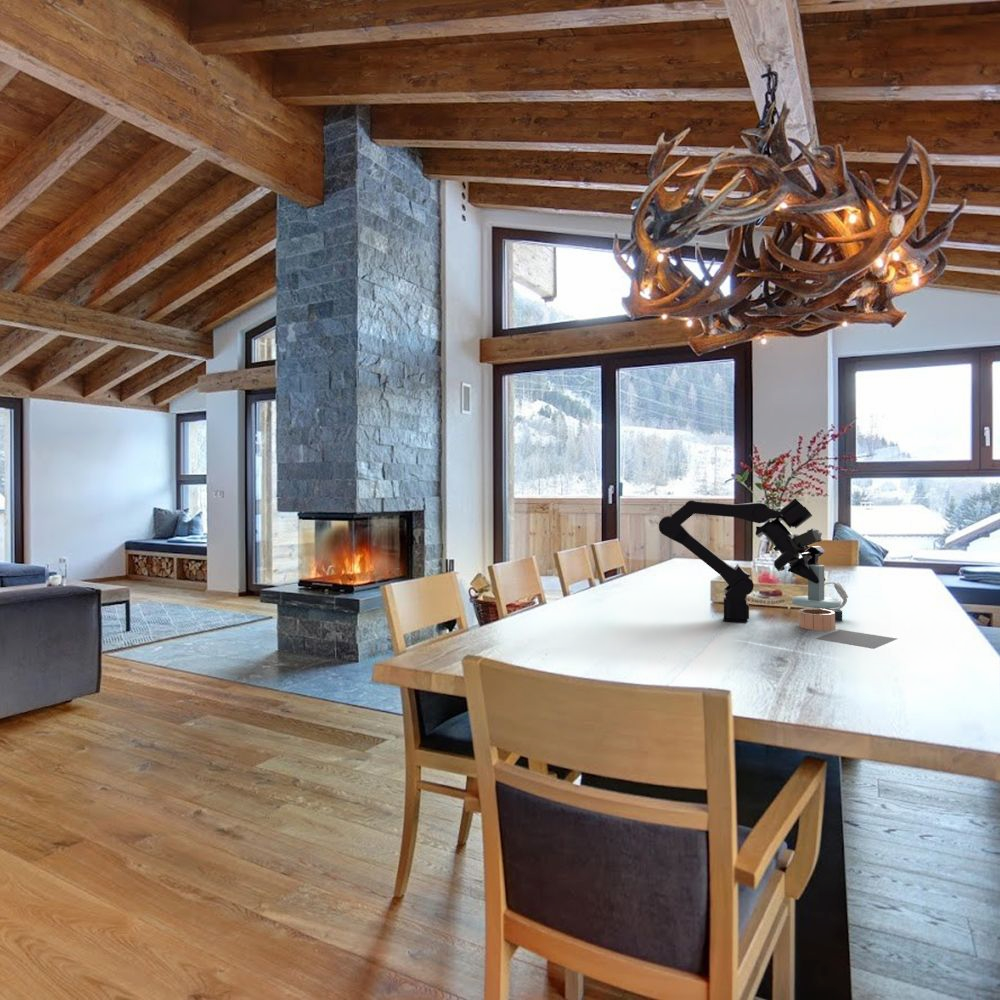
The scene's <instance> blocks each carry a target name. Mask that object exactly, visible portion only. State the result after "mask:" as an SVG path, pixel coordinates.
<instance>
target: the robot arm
mask: <svg viewBox="0 0 1000 1000" xmlns="http://www.w3.org/2000/svg"><path fill="white" fill-rule="evenodd" d="M693 515H703V516H704V515H705V516H717V517H718V516H719V517H730V518H731V517H732V518H736V519H741V520H744V521H749V522H751V523H756V524H763V523H764V524H763V525H761V526H757V525H756V527H755V536H756V537H757V538H761V537H762V536H763V535H764V536H765V537H766V538H767V539H768V541H770V543H771V544H772V545H773V546H774V548H773V550H774V551H775V552H779V553H780V555H779V556H778V557H777V558H776V559H775V560H773V567H774V568H775V569H776V570H777V572H782V571H785V566H786V565H788V564H789V565H788V566H789V567H790V568H788V570H787V572H789V573H792V574H795V575H797V576H799V577H802V578H804V579H806V580H807V581H808V580H810V581H812V582H814V583H816V584H818V583H819V582H820V581H819V579H818V577H817V576H816V575H815V573H814V572H813V570H812V569H811V568H810V566H809V565H813V564H814V565H820V564H819V558H821V556H823V555H824V553H826V551H825V549H824V548H823V546H821V545H815V546H811V545H813V544H815V543H819V542H820V543H821V542H822V541H823V540H822V535H823V533H822V532H820V531H819V529H816V528H811V529H808V530H807V531H805V532H804V533H801V534H796V533H792V532H791V531H790V530H789V529H791V528H794V529H797V528H798V527H800V526H801V525H803V523H805V522H807V521H808V520H809V519H811V518H812V517H813V514H812V513H811V512H810V510H808V508H807V507H806V506H804V505H803V504H802V503H801V502H800V501H798V499H797V498H793V499H791V500H790V501H789V502H788V503H787V504H786V505H784V507H782V508H781V509H779V510H778V509H777V508H771V507H769V506H768V505H767V504H765V503H763V502H760V501H759V502H747V503H745V502H744V503H737V504H736V503H720V502H712V501H711V502H710V501H698V500H693V499H691V500H688V501H686V502H685V504H684V505H683V506H681V507H680V508H679V509H678V510H677V511H675V512H674V513H672V514H671V515H670V514H669V515H666V516H663V517H662V518H661V520H659V522H658V523H659V524H658V531H660V534H662V535H663V536H665V537H667V538H669V539H670V540H672V541H674V542H676V543H678V544H681V545H682V546H684V547H685V548H686V549H688V551H690V552H691V553H692V554H693V555H695V556H696V557H697V558H699V559H700V560H701V561H702V562H703V563H704V564H706V565H707V566H708V567H710V568H711V569H712V570H714V571H715V572H716V573H717V574H719V575H720V576H721V577H722V579H723V580H724V581H725V582H726V583H727V586H726V587H725V588H724V589H723V593H724V595H725V597H723V618H722V621H723V622H736V623H748V620H749V619H750V604H749V603H747V601H748V600H747V596H748V595H749V594H751V593H752V592H753V590H754V588H755V587H754V582H753V580H752V578H751V574H750V572H749V571H746V570H744V569H743V568H742V566H740V565H739V564H738V563H737V564H736V566H735V567H734V566H733V565H731V564H729V563H727V562H726V561H724V559H722V558H721V557H719V556H718V555H717V554H716V553H714V552H713V551H712V550H711V549H709V548H708V547H707V546H706V545H704V544H703V543H702V542H701V541H699V540H698V539H697V538H695V537H694V536H693V535H692V534H691V533H690V532H689V531H688V530H687V529H686V527H685V526H684V525H683V524H684V522H686V521H687V520H688V519H690V517H692V516H693ZM769 519H770V520H771V519H774V520H771V521H770V520H769ZM782 521H783V522H784V523H785V525H786V526H787V527H786V526H785V525H784V523H783V522H782ZM788 528H789V529H788ZM826 581H827V579H826V577H825V576H824V582H826Z"/></svg>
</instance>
